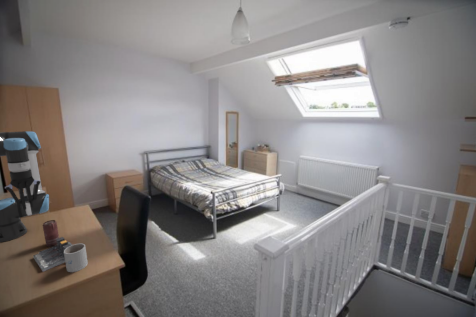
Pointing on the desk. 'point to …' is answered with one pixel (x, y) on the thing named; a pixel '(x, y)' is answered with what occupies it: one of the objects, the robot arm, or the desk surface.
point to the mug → (75, 257)
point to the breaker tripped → (63, 245)
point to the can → (50, 232)
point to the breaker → (59, 241)
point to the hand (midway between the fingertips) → (29, 214)
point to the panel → (49, 258)
